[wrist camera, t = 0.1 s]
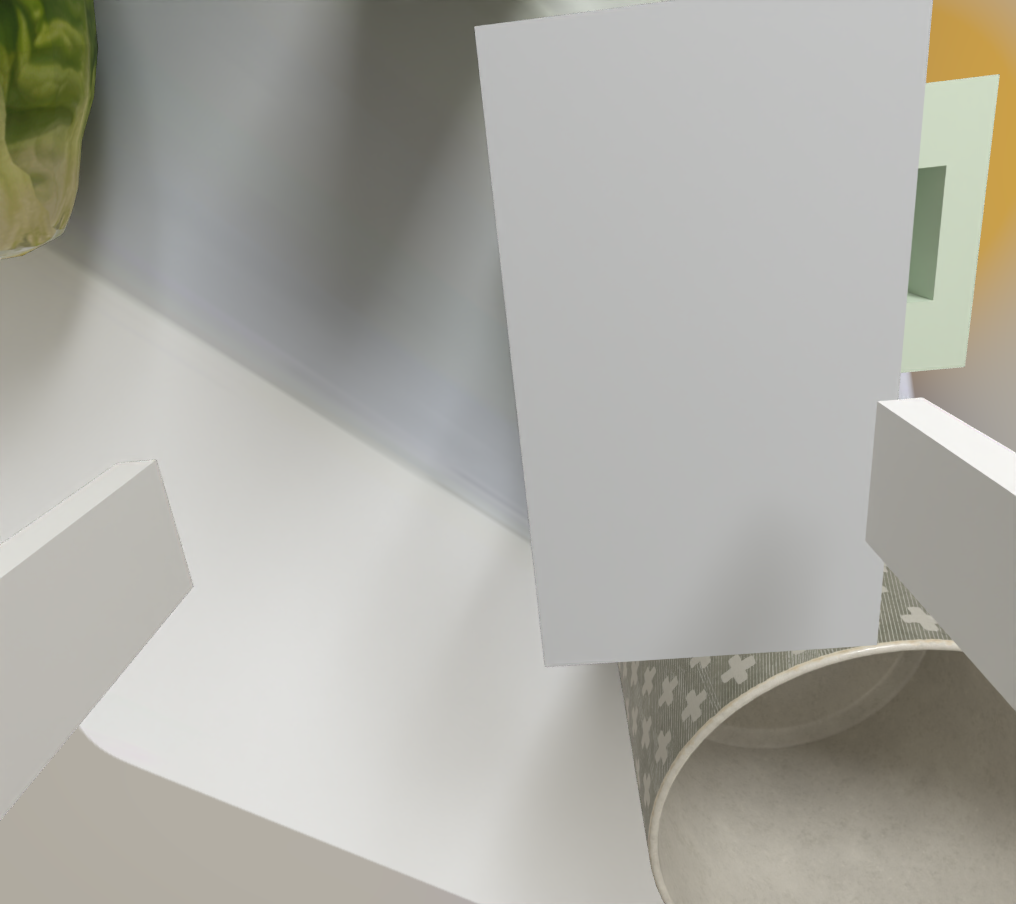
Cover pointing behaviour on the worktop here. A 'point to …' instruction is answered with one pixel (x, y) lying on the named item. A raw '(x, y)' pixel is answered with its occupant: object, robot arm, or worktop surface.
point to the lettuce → (42, 115)
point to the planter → (828, 771)
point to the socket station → (722, 304)
